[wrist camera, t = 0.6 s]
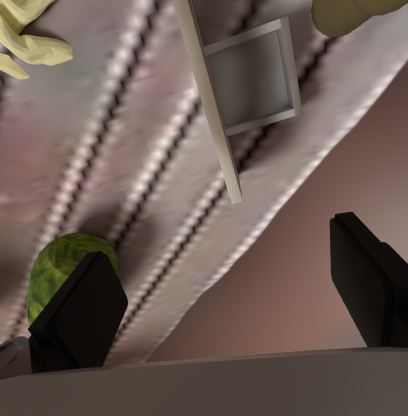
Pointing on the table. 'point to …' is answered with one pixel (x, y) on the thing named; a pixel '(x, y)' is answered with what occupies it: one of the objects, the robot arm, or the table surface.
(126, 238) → the table surface
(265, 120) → the wall board holder
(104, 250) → the lettuce
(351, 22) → the olive rounded piece
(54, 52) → the cloth
